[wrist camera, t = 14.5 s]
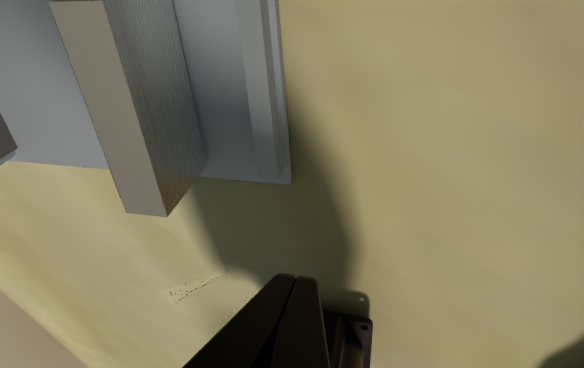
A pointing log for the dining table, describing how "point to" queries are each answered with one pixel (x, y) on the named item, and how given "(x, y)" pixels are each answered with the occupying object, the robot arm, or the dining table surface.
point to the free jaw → (136, 96)
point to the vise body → (202, 77)
